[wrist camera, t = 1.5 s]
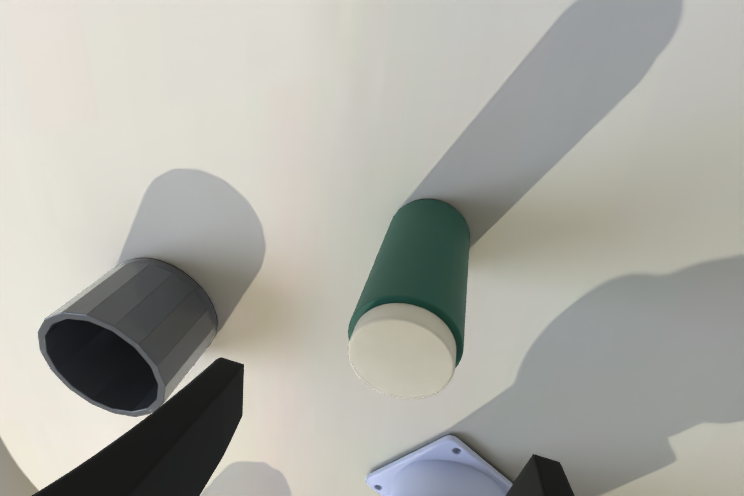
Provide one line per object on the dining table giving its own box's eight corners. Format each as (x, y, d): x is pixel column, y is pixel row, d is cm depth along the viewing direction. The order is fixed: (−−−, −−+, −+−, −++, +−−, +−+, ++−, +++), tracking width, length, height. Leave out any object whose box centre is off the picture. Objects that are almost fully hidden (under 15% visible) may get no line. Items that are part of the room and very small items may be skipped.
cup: (238, 314, 25) (187, 380, 20) (185, 367, 28) (133, 433, 24) (137, 235, 23) (61, 287, 19) (96, 300, 27) (23, 357, 23)
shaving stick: (487, 238, 19) (489, 372, 12) (428, 282, 21) (402, 420, 14) (429, 182, 18) (397, 290, 12) (373, 233, 20) (317, 352, 13)
